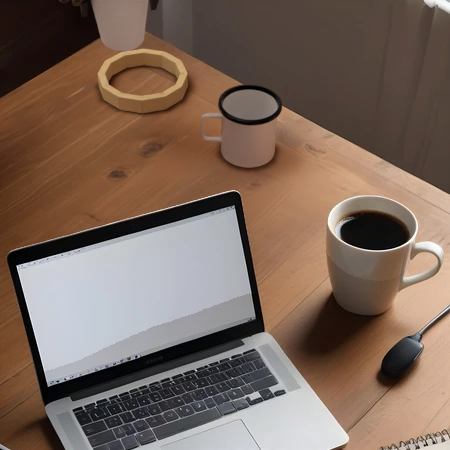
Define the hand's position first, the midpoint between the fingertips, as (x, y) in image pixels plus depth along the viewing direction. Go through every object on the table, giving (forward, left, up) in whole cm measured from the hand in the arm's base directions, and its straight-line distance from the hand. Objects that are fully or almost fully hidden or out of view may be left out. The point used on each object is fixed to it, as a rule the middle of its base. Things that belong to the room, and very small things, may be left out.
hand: (117, 3), depth 121 cm
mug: (+20, -5, -19) cm, 28 cm away
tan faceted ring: (+1, +8, -19) cm, 20 cm away
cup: (+1, -3, -4) cm, 5 cm away
